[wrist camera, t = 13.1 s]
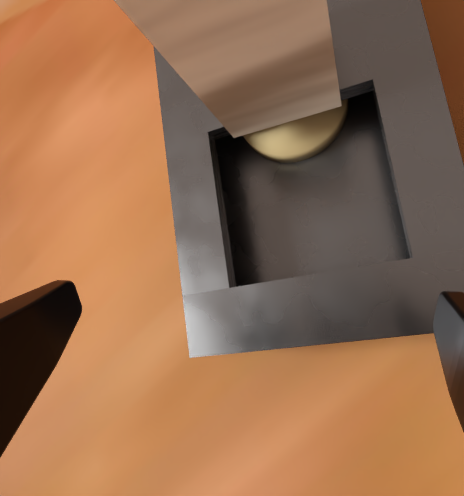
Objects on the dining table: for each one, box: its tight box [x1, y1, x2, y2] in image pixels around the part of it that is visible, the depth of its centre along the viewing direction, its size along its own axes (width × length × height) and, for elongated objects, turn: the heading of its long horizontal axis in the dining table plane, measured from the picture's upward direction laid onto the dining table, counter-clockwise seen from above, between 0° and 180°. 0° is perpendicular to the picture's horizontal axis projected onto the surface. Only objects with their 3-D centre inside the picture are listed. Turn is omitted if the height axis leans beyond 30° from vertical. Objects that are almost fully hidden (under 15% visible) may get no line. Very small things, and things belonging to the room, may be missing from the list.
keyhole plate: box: [154, 0, 464, 358], centre depth 19 cm, size 18×13×4 cm
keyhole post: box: [114, 0, 348, 163], centre depth 15 cm, size 6×6×13 cm
